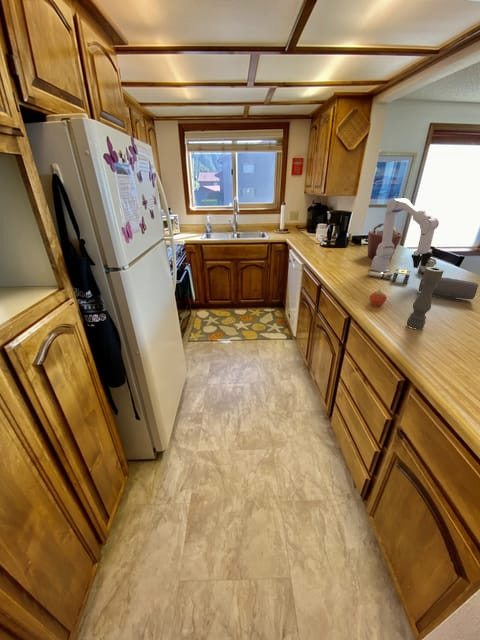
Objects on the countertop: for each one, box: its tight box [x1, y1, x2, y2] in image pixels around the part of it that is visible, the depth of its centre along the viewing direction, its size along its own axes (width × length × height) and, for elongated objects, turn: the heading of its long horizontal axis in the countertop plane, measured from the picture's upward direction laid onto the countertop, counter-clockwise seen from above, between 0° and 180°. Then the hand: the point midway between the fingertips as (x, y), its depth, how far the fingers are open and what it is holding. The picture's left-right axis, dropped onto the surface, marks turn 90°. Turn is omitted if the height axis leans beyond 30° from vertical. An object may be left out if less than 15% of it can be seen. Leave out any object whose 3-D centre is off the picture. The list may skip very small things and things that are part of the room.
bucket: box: [367, 222, 403, 260], centre depth 198 cm, size 24×22×25 cm
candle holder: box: [406, 266, 445, 330], centre depth 105 cm, size 6×6×25 cm
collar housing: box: [391, 268, 412, 285], centre depth 157 cm, size 8×9×6 cm
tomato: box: [369, 289, 387, 307], centre depth 128 cm, size 7×7×8 cm
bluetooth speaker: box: [418, 276, 479, 300], centre depth 135 cm, size 23×9×10 cm, turn 59°
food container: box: [417, 257, 437, 277], centre depth 166 cm, size 12×6×10 cm, turn 168°
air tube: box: [367, 270, 393, 280], centre depth 164 cm, size 13×3×3 cm, turn 57°
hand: (419, 266), depth 149 cm, fingers open, 7 cm apart
